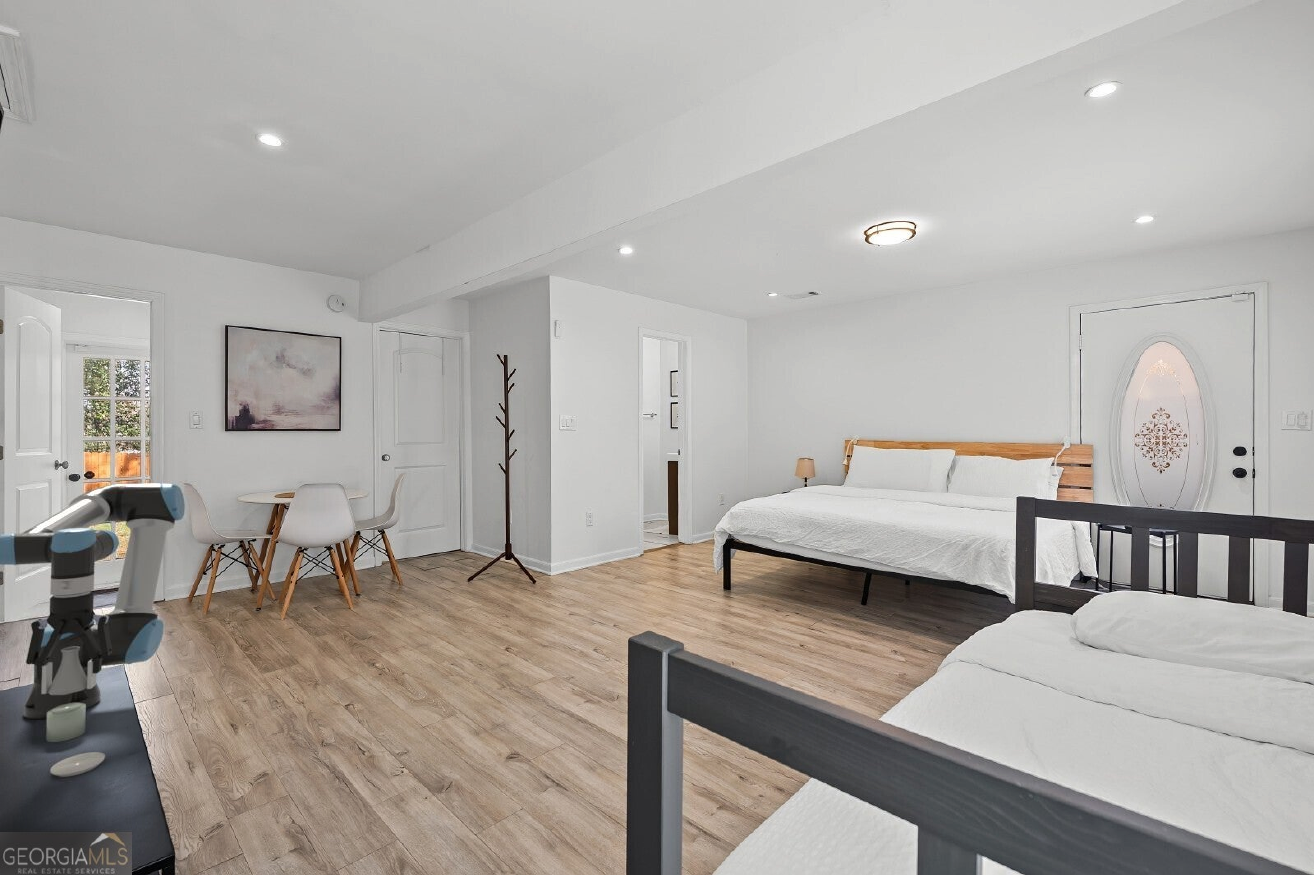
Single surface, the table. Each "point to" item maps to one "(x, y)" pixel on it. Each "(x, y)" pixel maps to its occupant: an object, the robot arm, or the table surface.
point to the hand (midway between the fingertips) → (69, 689)
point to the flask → (69, 674)
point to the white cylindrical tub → (65, 722)
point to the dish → (77, 764)
